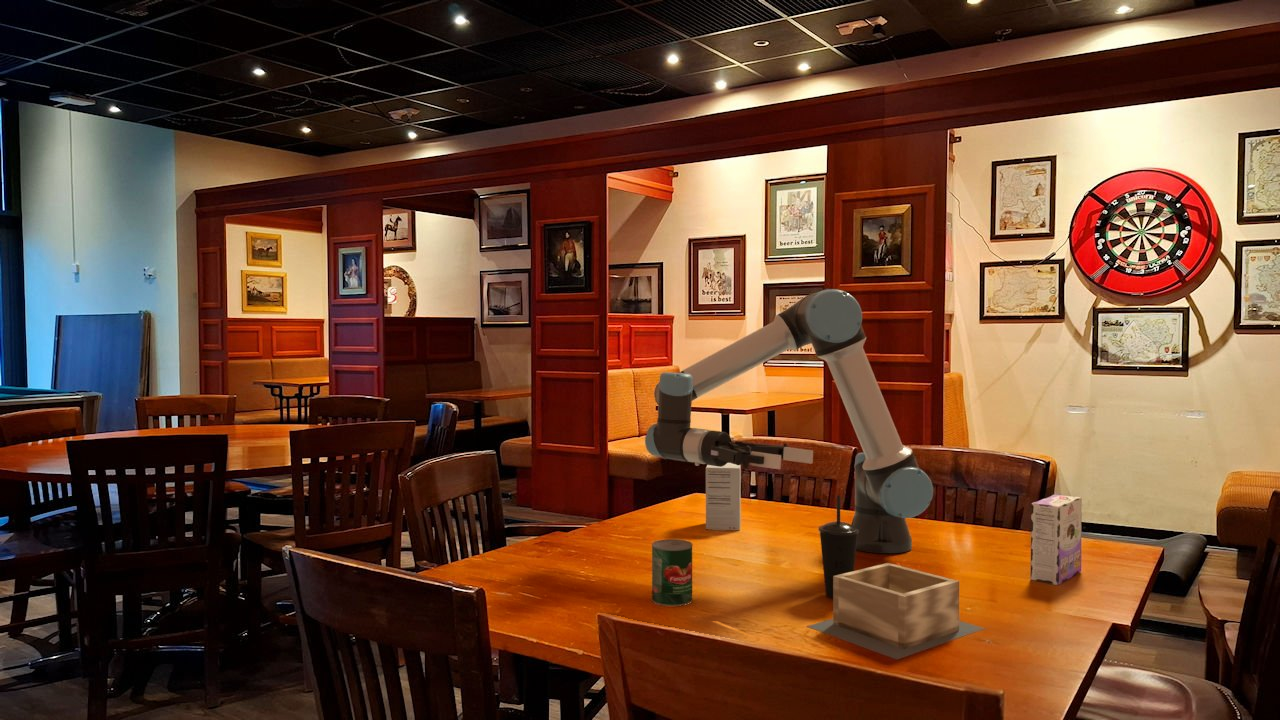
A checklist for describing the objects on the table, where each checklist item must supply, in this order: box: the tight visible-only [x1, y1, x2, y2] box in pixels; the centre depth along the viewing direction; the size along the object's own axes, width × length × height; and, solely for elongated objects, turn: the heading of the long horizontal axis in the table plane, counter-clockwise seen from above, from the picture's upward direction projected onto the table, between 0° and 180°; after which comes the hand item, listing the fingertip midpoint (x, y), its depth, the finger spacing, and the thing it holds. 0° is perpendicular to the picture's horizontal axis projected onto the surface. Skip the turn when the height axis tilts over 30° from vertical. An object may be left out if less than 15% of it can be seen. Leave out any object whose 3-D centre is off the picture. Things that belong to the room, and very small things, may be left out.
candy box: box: [1030, 494, 1082, 586], centre depth 180 cm, size 14×6×16 cm, turn 135°
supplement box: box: [705, 462, 742, 531], centre depth 228 cm, size 10×9×17 cm
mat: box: [806, 618, 986, 660], centre depth 147 cm, size 24×19×1 cm
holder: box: [832, 562, 960, 649], centre depth 147 cm, size 15×15×8 cm
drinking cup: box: [817, 495, 859, 600], centre depth 165 cm, size 8×8×20 cm
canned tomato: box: [651, 538, 693, 607], centre depth 164 cm, size 8×8×11 cm
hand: (796, 459), depth 171 cm, fingers open, 13 cm apart
